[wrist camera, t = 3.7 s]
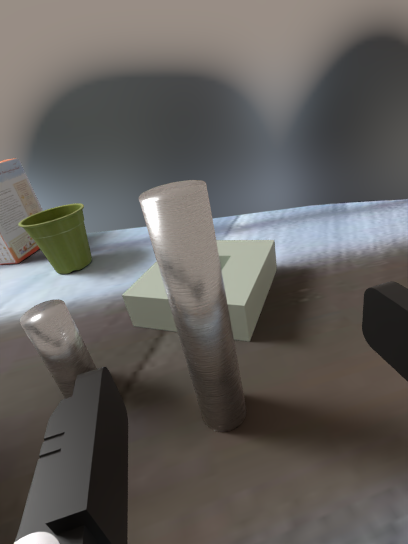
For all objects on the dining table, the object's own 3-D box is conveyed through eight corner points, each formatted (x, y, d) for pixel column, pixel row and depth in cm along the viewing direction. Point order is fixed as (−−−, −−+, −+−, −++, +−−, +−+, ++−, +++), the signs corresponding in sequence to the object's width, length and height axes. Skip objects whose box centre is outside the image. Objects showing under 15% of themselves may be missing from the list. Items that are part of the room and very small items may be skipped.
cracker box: (38, 240, 83) (0, 160, 73) (57, 238, 81) (20, 156, 71) (-3, 265, 71) (-55, 174, 62) (17, 264, 70) (-33, 170, 60)
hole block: (249, 341, 34) (244, 305, 32) (133, 326, 41) (121, 295, 39) (276, 269, 47) (274, 240, 44) (184, 266, 53) (177, 240, 51)
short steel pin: (84, 405, 31) (40, 328, 26) (55, 397, 33) (10, 323, 28) (108, 374, 34) (73, 301, 29) (81, 368, 36) (44, 298, 31)
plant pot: (110, 248, 68) (91, 199, 62) (92, 275, 57) (68, 218, 52) (59, 257, 69) (37, 209, 63) (33, 285, 58) (4, 230, 53)
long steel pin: (238, 437, 25) (188, 199, 16) (194, 425, 27) (125, 203, 17) (251, 396, 28) (215, 177, 19) (211, 388, 30) (159, 183, 20)
